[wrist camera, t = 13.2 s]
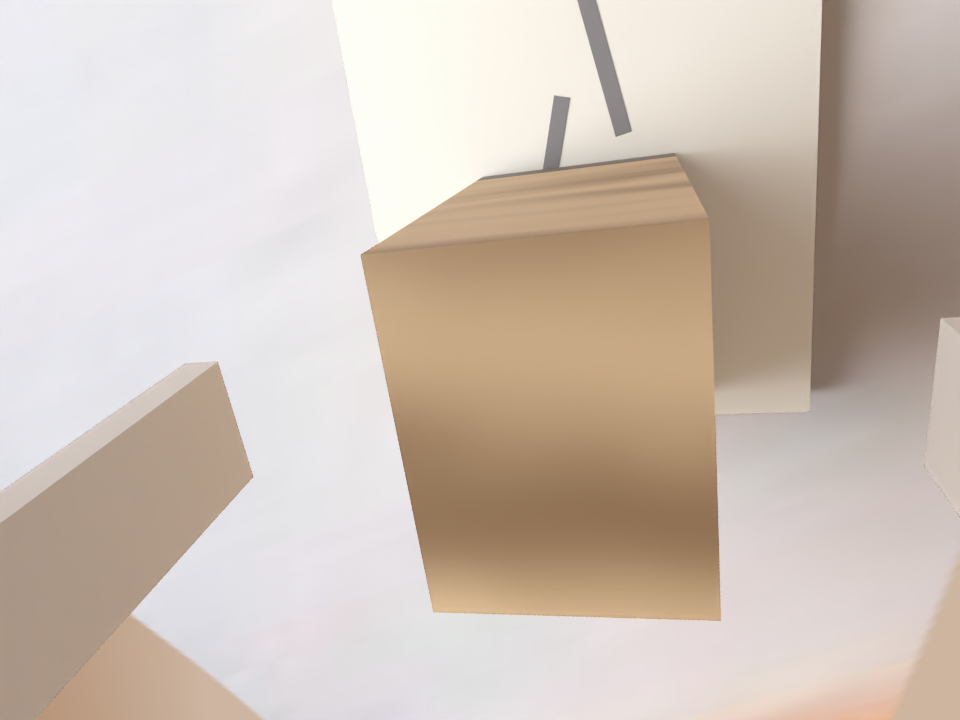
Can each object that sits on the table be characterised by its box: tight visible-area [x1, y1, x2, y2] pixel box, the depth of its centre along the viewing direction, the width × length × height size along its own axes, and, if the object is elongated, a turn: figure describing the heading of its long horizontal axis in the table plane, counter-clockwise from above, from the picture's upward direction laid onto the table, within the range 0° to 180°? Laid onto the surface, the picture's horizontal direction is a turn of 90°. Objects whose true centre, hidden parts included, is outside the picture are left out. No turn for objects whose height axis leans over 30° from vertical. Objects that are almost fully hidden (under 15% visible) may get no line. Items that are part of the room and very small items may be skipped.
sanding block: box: [361, 153, 721, 621], centre depth 18 cm, size 8×6×11 cm
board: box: [332, 0, 822, 415], centre depth 21 cm, size 24×14×2 cm, turn 8°
